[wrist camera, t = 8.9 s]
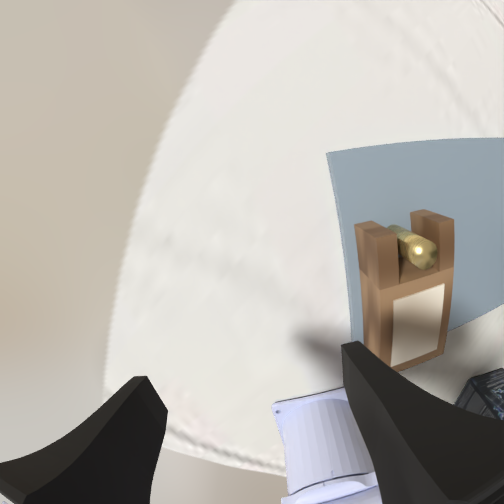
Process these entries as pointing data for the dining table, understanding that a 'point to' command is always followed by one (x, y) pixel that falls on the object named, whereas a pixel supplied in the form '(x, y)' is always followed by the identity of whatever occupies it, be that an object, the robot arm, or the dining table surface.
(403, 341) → the wooden holder
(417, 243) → the peg
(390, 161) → the board
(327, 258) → the dining table surface
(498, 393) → the box
